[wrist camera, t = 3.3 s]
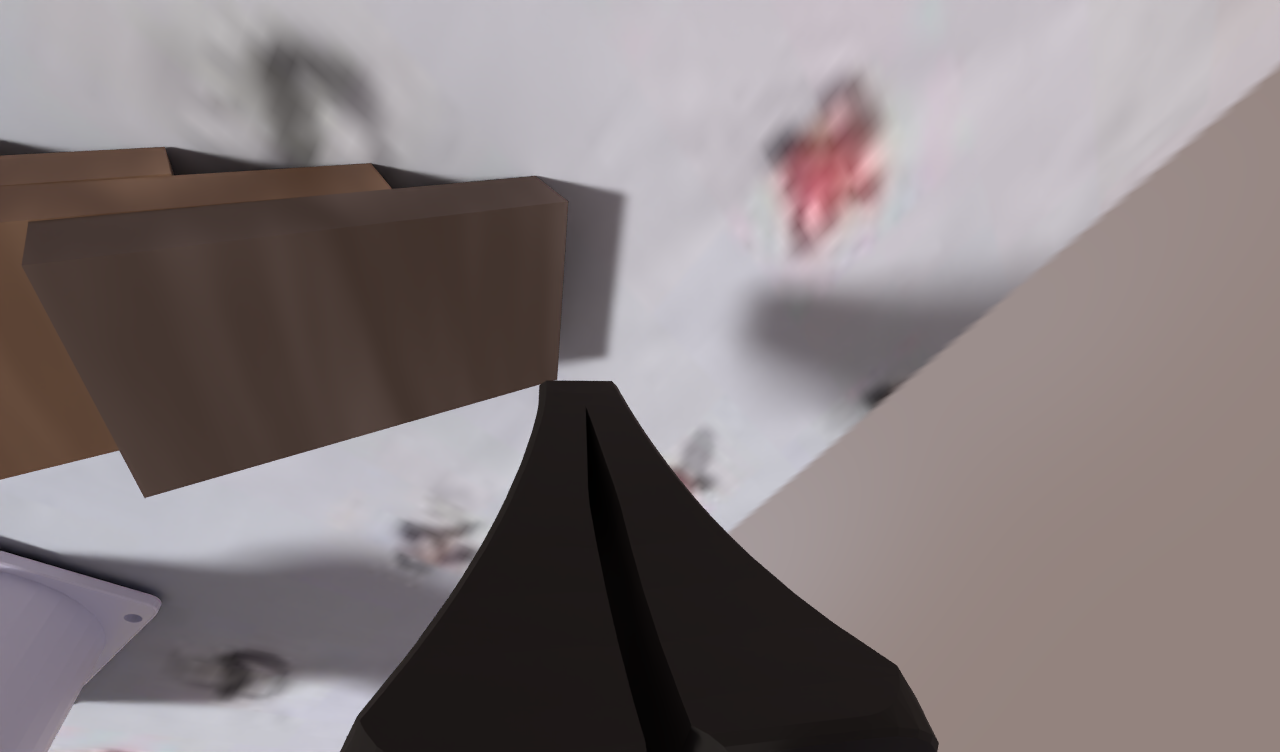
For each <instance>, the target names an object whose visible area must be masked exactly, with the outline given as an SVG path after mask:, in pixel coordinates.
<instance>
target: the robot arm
mask: <svg viewBox="0 0 1280 752" xmlns="http://www.w3.org/2000/svg"><path fill="white" fill-rule="evenodd" d="M161 605H162V603H161V600H160V599H159V598H157V597H156V596H153V595H151V594H147V593H144V592H140V591H137V590H134V589H130V588H127V587H123V586H120V585H117V584H113V583H110V582H106V581H103V580H99V579H96V578H93V577H89V576H86V575H82V574H79V573H76V572H72V571H69V570H65V569H62V568H58V567H55V566H52V565H48V564H45V563H41V562H38V561H35V560H31V559H28V558H24V557H21V556H17V555H14V554H11V553H7V552H4V551H0V752H47V751H48V750H49V748H50V746H51V744H52V742H53V740H54V739H55V737H56V735H57V733H58V731H59V730H60V728H61V726H62V724H63V722H64V720H65V719H66V717H67V715H68V713H69V711H70V709H71V708H72V706H73V704H74V702H75V700H76V699H77V697H78V695H79V693H80V691H81V689H82V688H83V686H84V685H85V684H87V683H88V682H89V681H90V680H91V679H92V678H93V677H94V676H95V675H96V674H97V673H98V672H99V671H100V670H101V669H102V668H103V667H104V666H105V665H106V664H107V663H108V662H109V661H110V660H111V659H112V658H113V657H114V656H115V655H116V654H117V653H118V652H119V651H120V650H121V649H122V648H123V647H124V646H125V645H126V644H127V643H128V642H129V641H130V640H131V639H132V638H133V637H134V636H135V635H136V634H137V633H138V632H139V631H140V630H141V629H142V628H143V627H144V626H145V625H146V624H147V623H148V622H150V621H151V620H152V619H153V618H154V617H155V616H156V615H157V613H158V611H159V609H160V607H161ZM938 744H939V743H938V741H937V739H936V737H935V735H934V733H933V731H932V729H931V727H930V725H929V723H928V721H927V719H926V717H925V715H924V712H923V710H922V708H921V706H920V704H919V702H918V700H917V698H916V697H915V695H914V693H913V691H912V690H911V688H910V687H909V685H908V683H907V682H906V680H905V678H904V677H903V675H902V673H901V672H900V670H899V668H898V667H897V665H895V664H894V663H892V662H891V661H889V660H888V659H886V658H885V657H883V656H882V655H880V654H879V653H877V652H876V651H875V650H873V649H871V648H870V647H869V646H867V645H865V644H864V643H863V642H861V641H860V640H858V639H857V638H855V637H854V636H852V635H851V634H849V633H848V632H846V631H845V630H843V629H842V628H840V627H839V626H837V625H836V624H834V623H833V622H832V621H830V620H829V619H828V618H826V617H825V616H824V615H822V614H821V613H820V612H818V611H817V610H816V609H814V608H813V607H812V606H810V605H809V604H808V603H806V602H805V601H804V600H802V599H801V598H800V597H798V596H797V595H796V594H795V593H793V592H792V591H791V590H790V589H788V588H787V587H786V586H785V585H784V584H783V583H782V582H781V581H779V580H778V579H777V578H776V577H775V576H773V575H772V574H771V573H770V572H769V571H768V570H767V569H765V568H764V567H763V566H762V565H761V564H760V563H758V562H757V561H756V560H755V559H754V558H753V557H751V556H750V555H749V554H748V553H747V552H746V551H745V550H744V549H743V548H742V547H741V546H740V545H739V544H738V543H737V542H736V541H735V540H734V539H733V538H732V537H731V536H730V535H729V534H728V533H727V532H726V531H725V530H724V529H723V528H722V527H721V526H720V525H719V524H718V523H717V522H716V521H715V520H714V519H713V518H712V517H711V516H710V514H709V513H708V512H707V511H706V510H705V509H704V508H703V507H702V506H701V504H700V503H699V502H698V501H697V500H696V499H695V498H694V496H693V495H692V494H691V493H690V492H689V490H688V489H687V488H686V487H685V485H684V484H683V483H682V482H681V481H680V479H679V478H678V477H677V476H676V474H675V473H674V472H673V470H672V469H671V468H670V467H669V465H668V464H667V463H666V461H665V460H664V458H663V457H662V456H661V454H660V453H659V452H658V450H657V449H656V447H655V446H654V445H653V443H652V442H651V440H650V439H649V438H648V436H647V435H646V433H645V432H644V430H643V429H642V427H641V426H640V424H639V422H638V421H637V419H636V418H635V416H634V415H633V413H632V411H631V410H630V408H629V407H628V405H627V403H626V402H625V400H624V398H623V396H622V395H621V393H620V391H619V389H618V387H617V386H616V385H615V384H614V383H613V382H612V381H547V380H546V381H545V382H543V383H542V384H541V385H539V405H538V411H537V415H536V419H535V423H534V427H533V430H532V434H531V436H530V439H529V442H528V445H527V448H526V451H525V454H524V457H523V460H522V462H521V465H520V467H519V470H518V472H517V474H516V476H515V479H514V481H513V483H512V486H511V488H510V490H509V492H508V495H507V497H506V499H505V501H504V503H503V505H502V507H501V509H500V511H499V513H498V515H497V517H496V519H495V521H494V523H493V525H492V527H491V529H490V530H489V532H488V534H487V536H486V538H485V540H484V541H483V543H482V545H481V547H480V548H479V550H478V552H477V553H476V555H475V557H474V558H473V560H472V562H471V563H470V565H469V566H468V568H467V570H466V571H465V573H464V575H463V576H462V578H461V579H460V581H459V583H458V584H457V586H456V587H455V589H454V590H453V592H452V593H451V595H450V596H449V598H448V599H447V601H446V602H445V603H444V605H443V606H442V608H441V609H440V610H439V612H438V613H437V615H436V616H435V617H434V619H433V620H432V622H431V623H430V624H429V626H428V627H427V629H426V630H425V631H424V633H423V634H422V636H421V637H420V638H419V640H418V641H417V643H416V644H415V645H414V647H413V648H412V649H411V650H410V652H409V653H408V654H407V656H406V657H405V658H404V659H403V661H402V662H401V663H400V664H399V666H398V667H397V668H396V669H395V671H394V672H393V673H392V674H391V675H390V677H389V678H388V679H387V680H386V682H385V683H384V684H383V685H382V686H381V688H380V689H379V690H378V691H377V693H376V694H375V695H374V696H373V697H372V699H371V700H370V701H369V702H368V704H367V705H366V706H365V707H364V708H363V710H362V711H361V712H360V713H359V715H358V716H357V718H356V720H355V722H354V724H353V726H352V728H351V730H350V732H349V734H348V736H347V738H346V740H345V742H344V745H343V747H342V749H341V751H340V752H937V750H938Z"/></svg>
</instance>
